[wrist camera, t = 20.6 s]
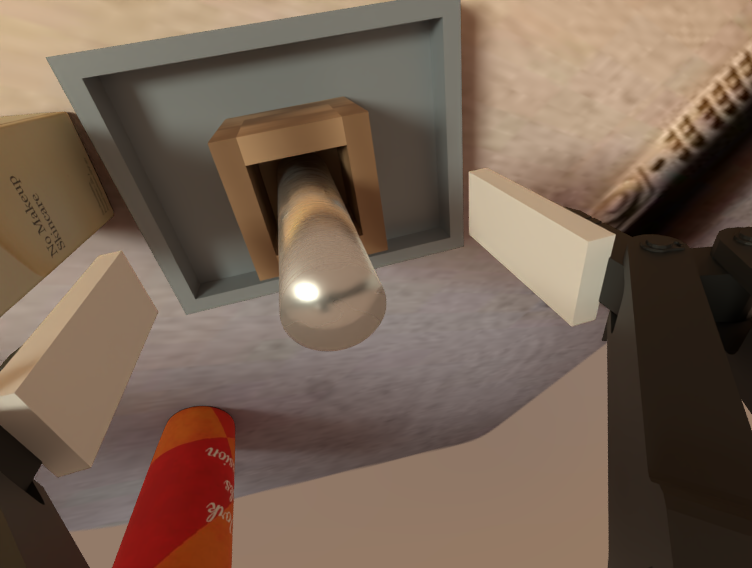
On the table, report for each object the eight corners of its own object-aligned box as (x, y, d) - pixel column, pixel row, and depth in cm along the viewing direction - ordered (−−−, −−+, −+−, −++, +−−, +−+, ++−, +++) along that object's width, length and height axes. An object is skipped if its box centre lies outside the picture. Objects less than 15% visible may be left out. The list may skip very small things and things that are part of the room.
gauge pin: (285, 204, 23) (296, 361, 11) (270, 154, 21) (265, 278, 9) (333, 194, 23) (392, 336, 11) (322, 144, 21) (378, 251, 10)
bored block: (263, 228, 25) (260, 281, 19) (225, 119, 21) (207, 143, 16) (362, 206, 26) (388, 249, 20) (343, 96, 22) (368, 111, 16)
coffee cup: (240, 456, 38) (223, 653, 25) (148, 456, 35) (79, 678, 22) (255, 398, 34) (244, 595, 22) (154, 392, 31) (74, 616, 19)
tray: (193, 292, 27) (186, 314, 25) (73, 57, 19) (45, 57, 17) (448, 231, 30) (463, 246, 27) (440, -3, 21) (460, -11, 19)
